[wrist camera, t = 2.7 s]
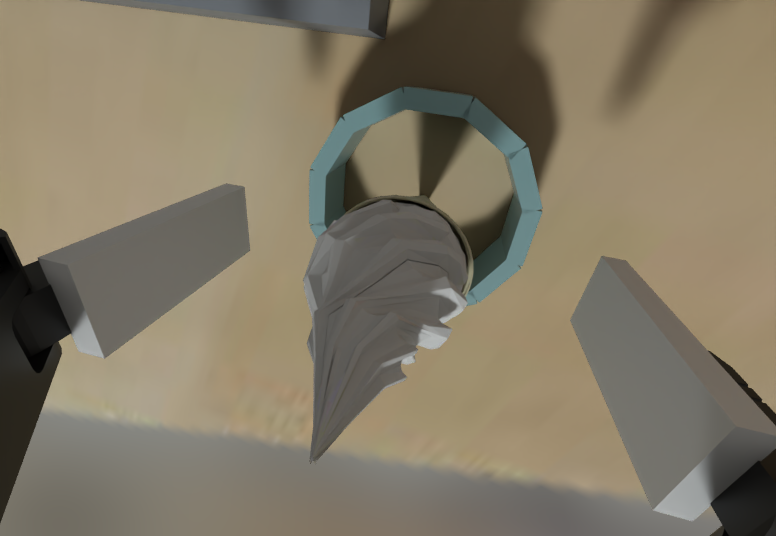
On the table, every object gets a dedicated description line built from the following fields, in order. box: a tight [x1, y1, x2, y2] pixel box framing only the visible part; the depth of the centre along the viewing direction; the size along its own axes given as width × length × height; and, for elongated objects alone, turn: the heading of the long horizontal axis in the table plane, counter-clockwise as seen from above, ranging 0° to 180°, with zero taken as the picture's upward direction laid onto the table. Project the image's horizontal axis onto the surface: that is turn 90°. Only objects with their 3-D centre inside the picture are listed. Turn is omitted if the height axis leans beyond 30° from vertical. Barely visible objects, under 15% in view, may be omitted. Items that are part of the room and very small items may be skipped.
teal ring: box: [309, 87, 542, 306], centre depth 17 cm, size 11×11×3 cm
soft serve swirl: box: [303, 195, 473, 463], centre depth 12 cm, size 5×5×15 cm
